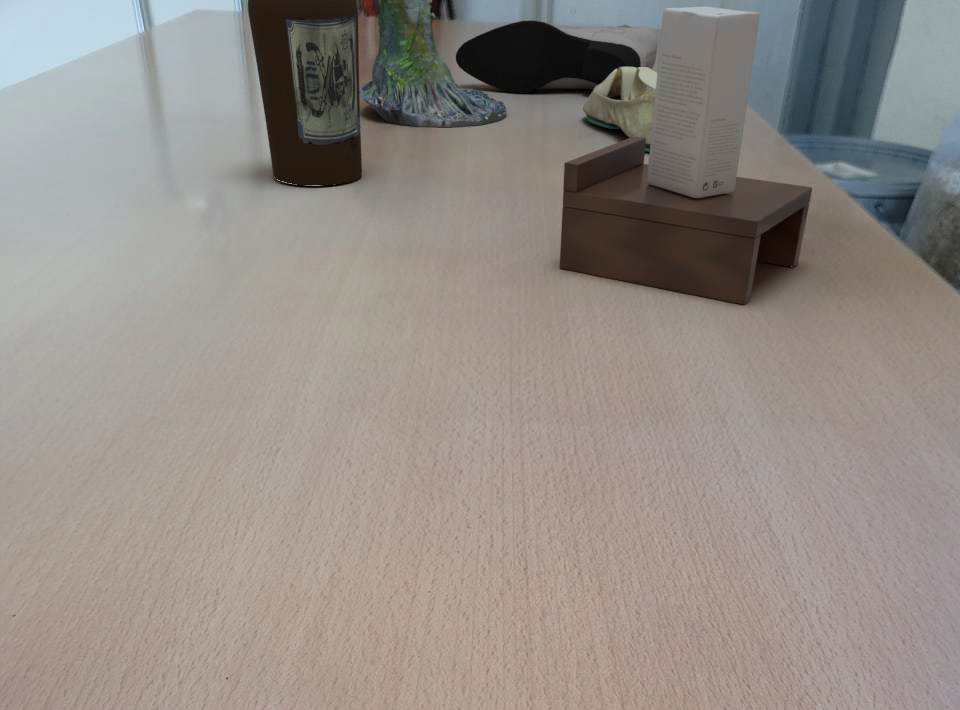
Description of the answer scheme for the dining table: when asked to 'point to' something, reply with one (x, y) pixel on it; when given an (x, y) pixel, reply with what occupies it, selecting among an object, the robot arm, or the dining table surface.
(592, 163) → the shelf
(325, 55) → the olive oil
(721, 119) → the cosmetic box
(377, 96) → the tree stump
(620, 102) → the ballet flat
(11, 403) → the dining table surface
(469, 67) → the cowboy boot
